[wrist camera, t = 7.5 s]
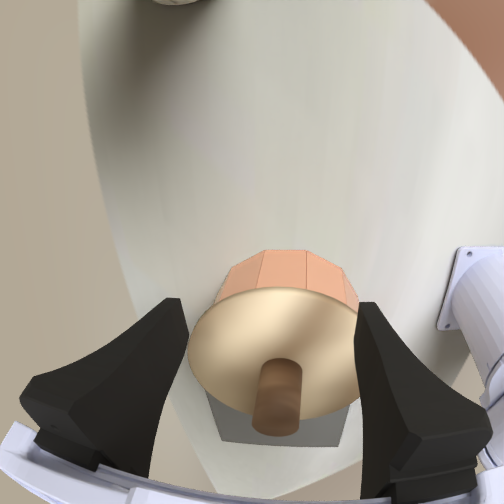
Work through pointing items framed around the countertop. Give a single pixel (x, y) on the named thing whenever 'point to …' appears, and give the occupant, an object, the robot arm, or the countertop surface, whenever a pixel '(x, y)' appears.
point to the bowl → (289, 275)
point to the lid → (277, 356)
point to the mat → (308, 435)
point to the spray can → (174, 2)
